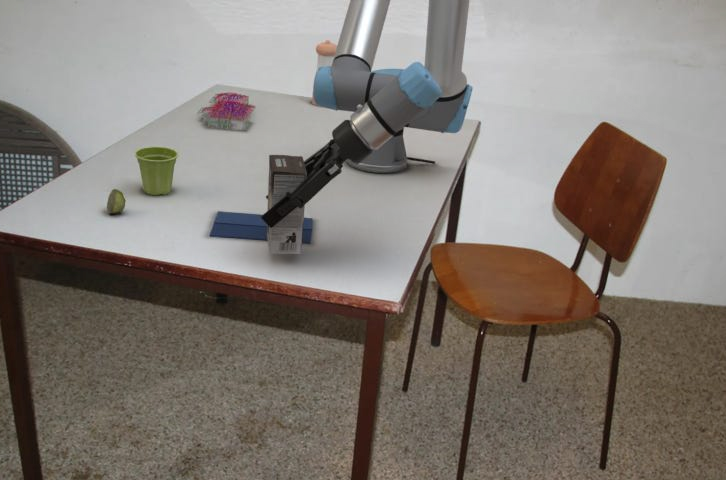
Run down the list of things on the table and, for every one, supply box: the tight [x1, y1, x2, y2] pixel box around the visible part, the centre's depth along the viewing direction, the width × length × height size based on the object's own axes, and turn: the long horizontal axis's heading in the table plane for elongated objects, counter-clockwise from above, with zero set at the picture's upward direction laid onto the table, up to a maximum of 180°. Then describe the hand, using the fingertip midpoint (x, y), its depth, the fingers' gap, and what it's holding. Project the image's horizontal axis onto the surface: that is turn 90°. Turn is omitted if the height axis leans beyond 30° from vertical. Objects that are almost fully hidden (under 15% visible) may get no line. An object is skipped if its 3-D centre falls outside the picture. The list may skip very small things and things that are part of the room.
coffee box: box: [266, 154, 307, 255], centre depth 148 cm, size 9×6×16 cm
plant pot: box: [134, 146, 179, 196], centre depth 176 cm, size 9×9×9 cm
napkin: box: [209, 210, 313, 244], centre depth 163 cm, size 20×12×1 cm, turn 87°
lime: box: [106, 188, 126, 215], centre depth 165 cm, size 4×5×5 cm
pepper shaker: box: [311, 39, 338, 106], centre depth 247 cm, size 7×7×19 cm
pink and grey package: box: [196, 91, 256, 131], centre depth 232 cm, size 30×15×5 cm, turn 174°
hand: (268, 211), depth 149 cm, fingers closed on coffee box, 9 cm apart
